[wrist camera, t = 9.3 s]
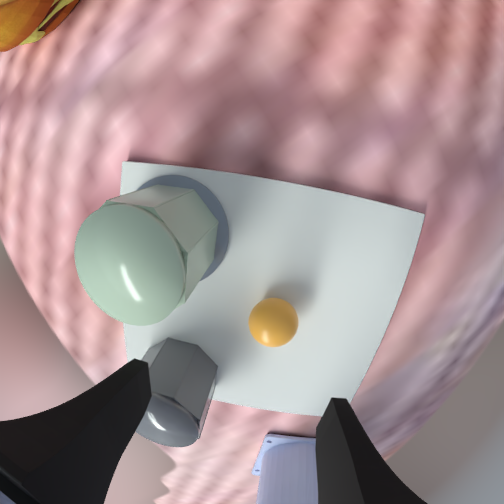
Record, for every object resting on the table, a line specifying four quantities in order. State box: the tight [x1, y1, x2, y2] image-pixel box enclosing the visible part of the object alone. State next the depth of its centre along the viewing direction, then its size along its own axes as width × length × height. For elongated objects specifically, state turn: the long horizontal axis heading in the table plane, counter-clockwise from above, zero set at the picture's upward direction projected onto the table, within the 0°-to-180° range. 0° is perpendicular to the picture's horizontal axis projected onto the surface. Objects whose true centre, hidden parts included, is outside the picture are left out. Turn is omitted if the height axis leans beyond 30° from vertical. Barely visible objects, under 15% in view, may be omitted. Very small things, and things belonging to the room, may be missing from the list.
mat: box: [120, 161, 425, 416], centre depth 19 cm, size 18×19×1 cm
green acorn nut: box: [75, 184, 219, 326], centre depth 14 cm, size 6×6×6 cm
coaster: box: [136, 175, 229, 281], centre depth 17 cm, size 7×7×1 cm
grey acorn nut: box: [136, 337, 218, 447], centre depth 18 cm, size 6×6×6 cm
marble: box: [248, 298, 299, 347], centre depth 17 cm, size 3×3×3 cm
